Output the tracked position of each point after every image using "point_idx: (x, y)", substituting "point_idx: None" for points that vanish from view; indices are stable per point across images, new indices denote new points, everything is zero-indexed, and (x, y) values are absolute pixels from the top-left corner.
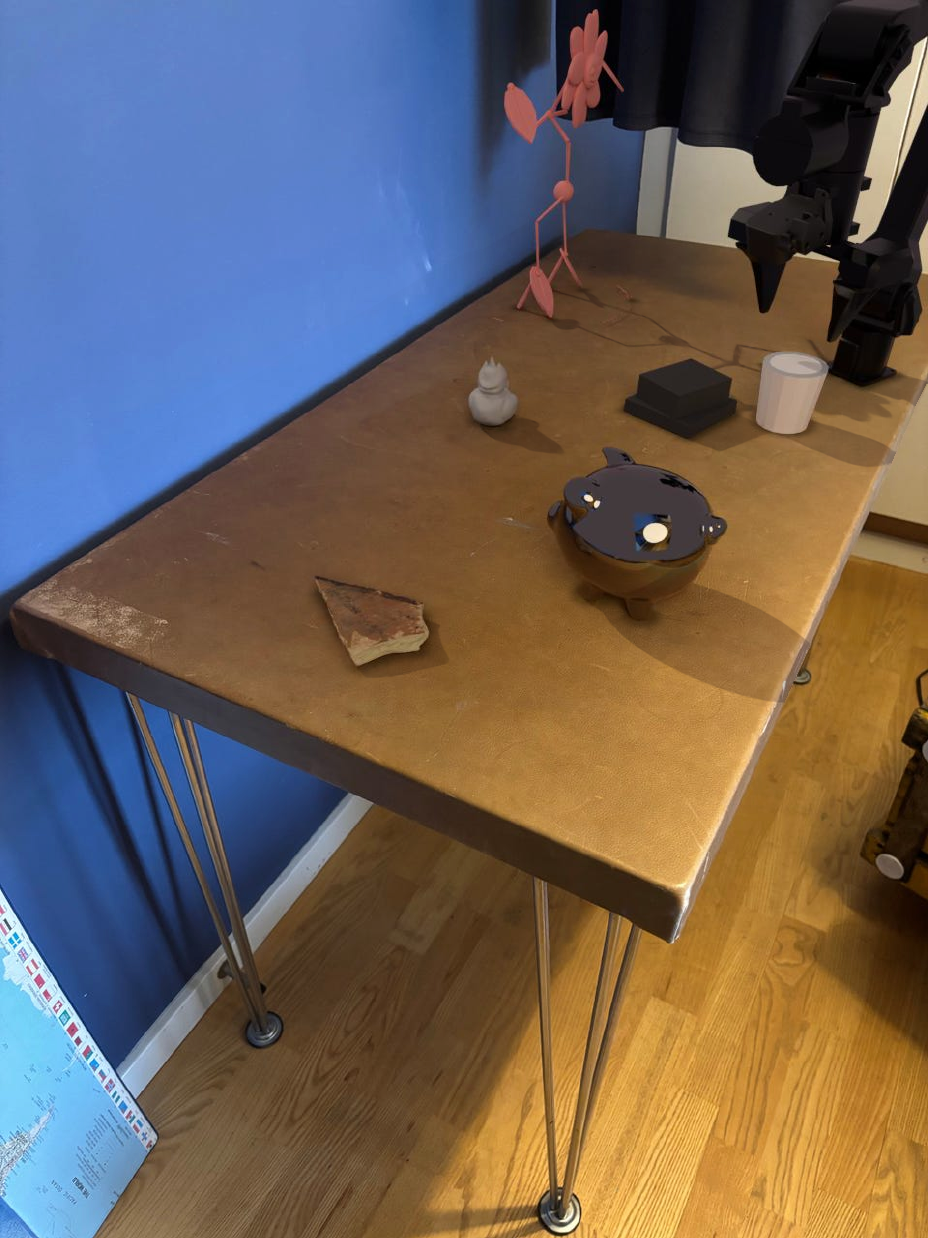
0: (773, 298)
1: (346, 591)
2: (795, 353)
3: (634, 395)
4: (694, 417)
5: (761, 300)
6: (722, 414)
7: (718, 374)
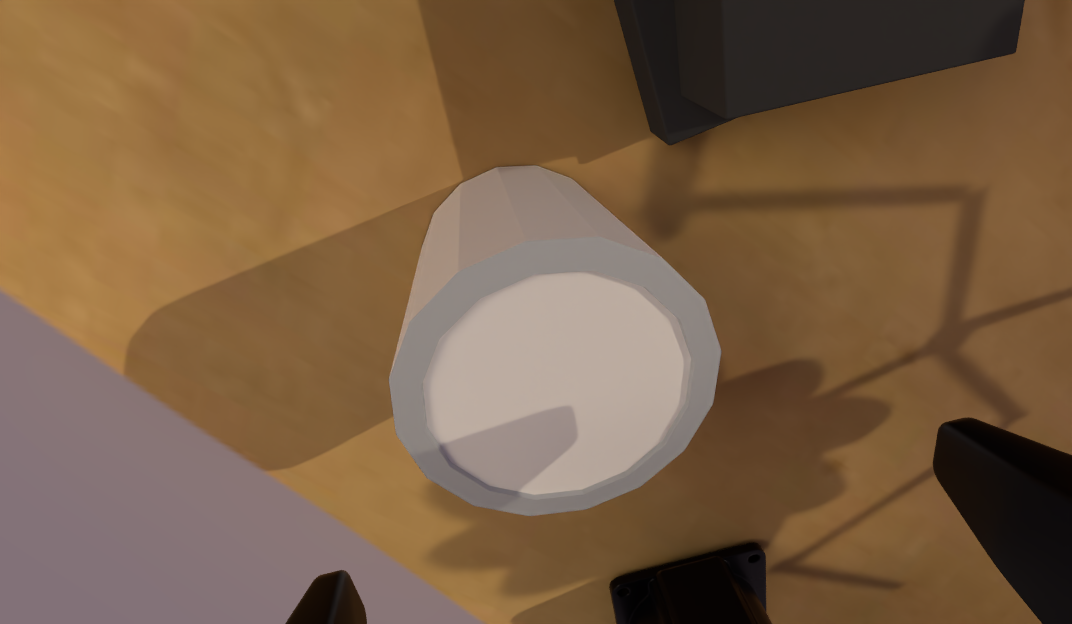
0: (996, 557)
1: None
2: (658, 446)
3: None
4: None
5: (1035, 469)
6: (631, 36)
7: (799, 77)
